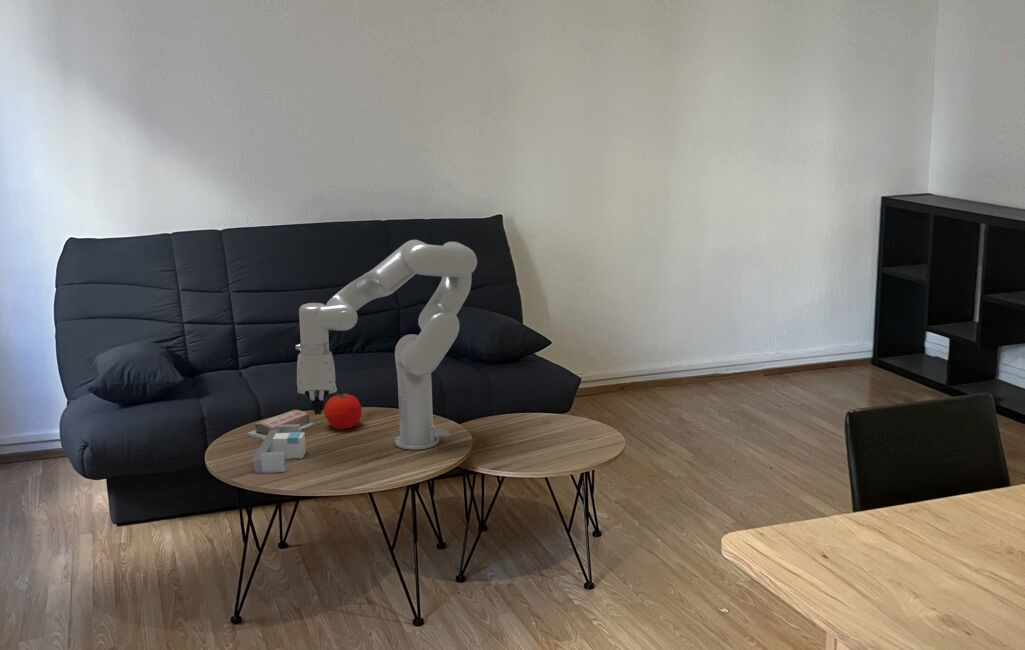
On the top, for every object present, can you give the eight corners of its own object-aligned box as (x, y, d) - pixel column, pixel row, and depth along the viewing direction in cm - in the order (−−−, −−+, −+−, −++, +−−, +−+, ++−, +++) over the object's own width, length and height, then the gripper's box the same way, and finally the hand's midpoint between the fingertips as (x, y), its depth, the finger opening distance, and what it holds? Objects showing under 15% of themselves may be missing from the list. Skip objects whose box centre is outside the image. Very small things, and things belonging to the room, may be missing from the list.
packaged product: (291, 406, 333) (314, 411, 327) (292, 421, 334) (315, 427, 328) (246, 422, 318) (270, 427, 313) (247, 437, 320) (271, 443, 314)
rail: (300, 440, 314) (299, 424, 313) (284, 472, 289) (283, 454, 288) (271, 441, 314) (269, 425, 313) (252, 473, 289) (251, 455, 288)
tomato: (367, 420, 332) (365, 388, 330) (356, 433, 320) (355, 400, 317) (331, 420, 333) (329, 388, 331) (319, 433, 321) (317, 400, 319)
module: (305, 452, 305) (304, 432, 303) (303, 458, 300) (301, 437, 298) (277, 453, 304) (275, 432, 303) (274, 459, 299) (272, 438, 298)
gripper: (285, 352, 291) (288, 417, 295) (340, 351, 292) (343, 416, 296) (289, 345, 299) (293, 409, 303) (344, 344, 299) (347, 408, 303)
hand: (318, 412), depth 299 cm, fingers closed
